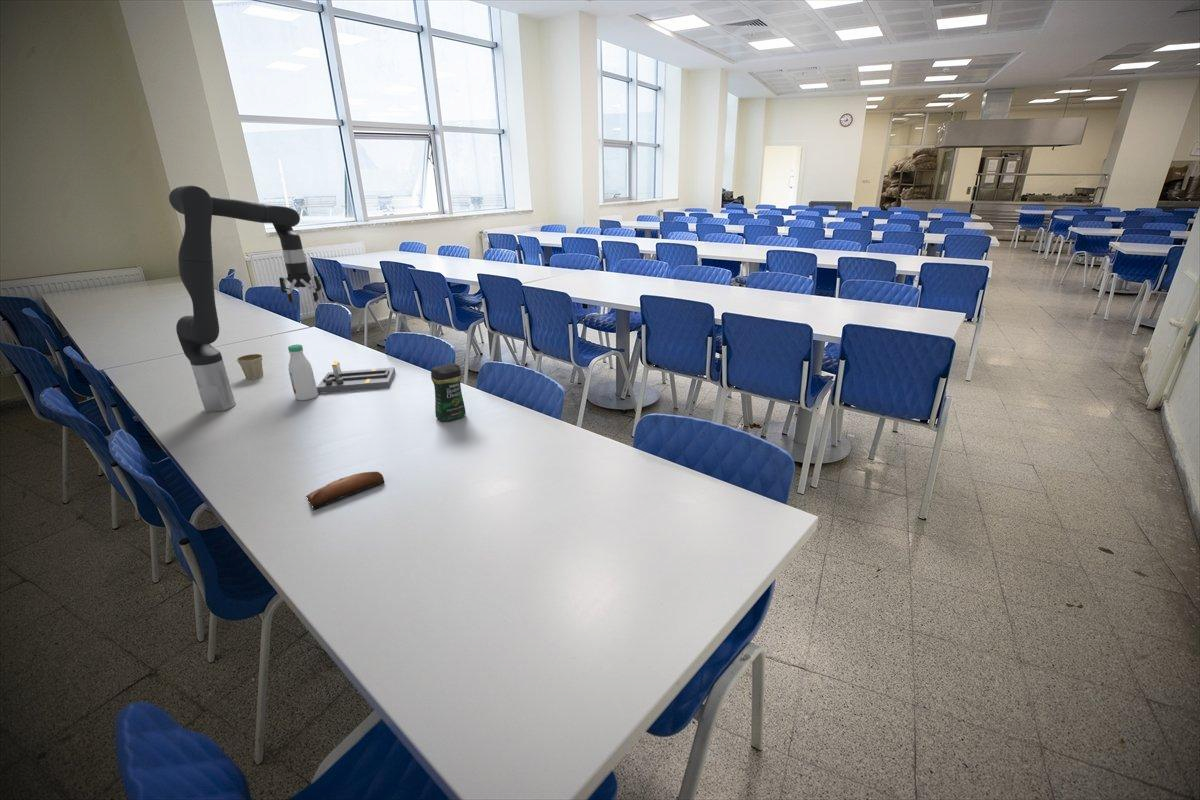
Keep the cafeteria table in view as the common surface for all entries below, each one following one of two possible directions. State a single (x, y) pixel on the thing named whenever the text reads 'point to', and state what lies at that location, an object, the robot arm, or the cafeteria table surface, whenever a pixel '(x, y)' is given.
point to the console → (357, 380)
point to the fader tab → (336, 369)
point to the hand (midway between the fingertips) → (304, 302)
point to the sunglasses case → (344, 488)
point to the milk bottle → (301, 374)
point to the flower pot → (251, 365)
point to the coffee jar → (448, 392)
